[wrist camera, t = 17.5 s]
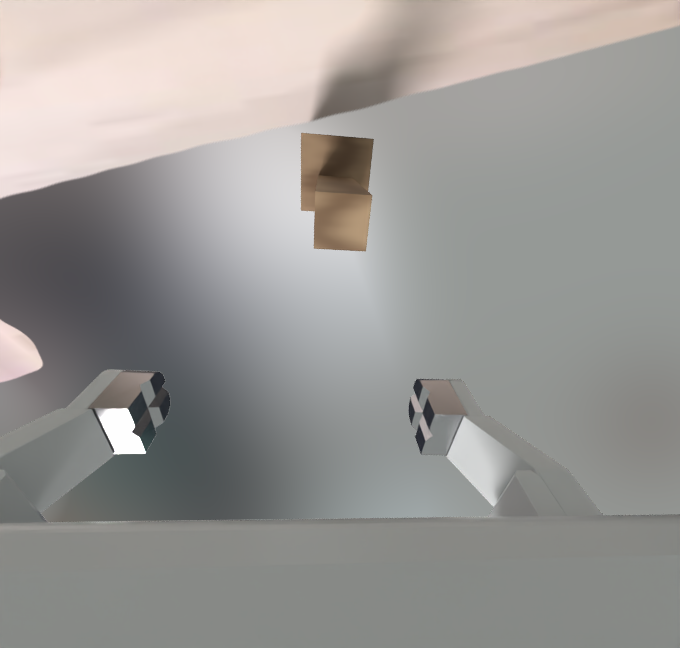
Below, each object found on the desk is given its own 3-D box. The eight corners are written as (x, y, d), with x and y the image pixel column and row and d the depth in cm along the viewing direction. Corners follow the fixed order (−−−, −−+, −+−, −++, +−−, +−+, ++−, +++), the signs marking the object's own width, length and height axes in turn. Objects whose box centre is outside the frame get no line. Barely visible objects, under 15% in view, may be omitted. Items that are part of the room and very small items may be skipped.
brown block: (287, 247, 19) (284, 118, 16) (305, 199, 38) (305, 136, 35) (391, 252, 20) (410, 129, 16) (358, 203, 39) (363, 141, 35)
